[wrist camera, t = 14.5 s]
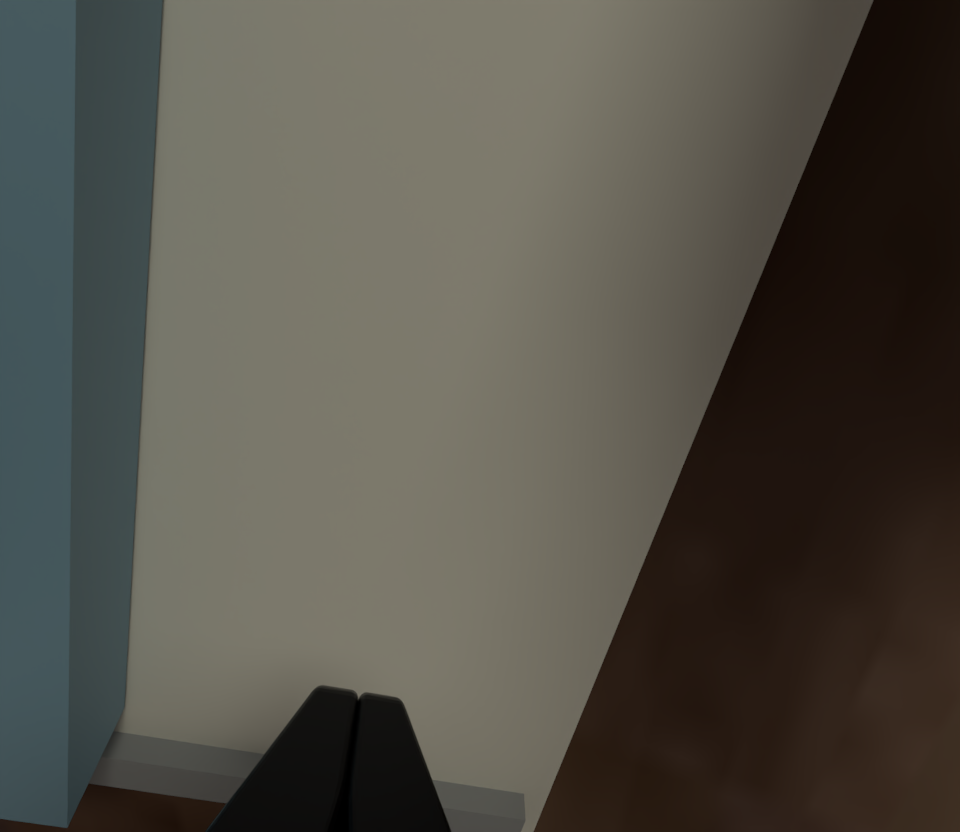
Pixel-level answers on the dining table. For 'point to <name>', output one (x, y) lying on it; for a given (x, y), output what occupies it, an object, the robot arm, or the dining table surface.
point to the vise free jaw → (69, 380)
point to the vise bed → (436, 356)
